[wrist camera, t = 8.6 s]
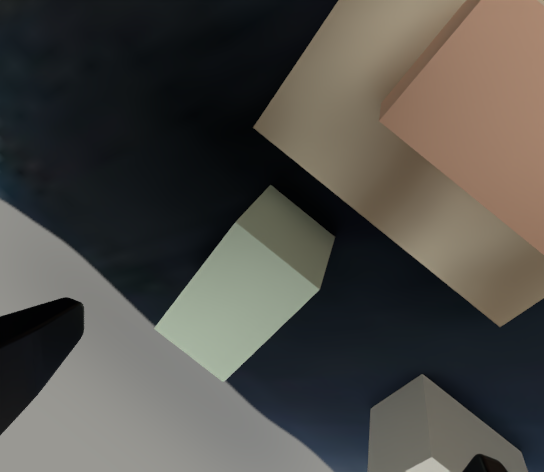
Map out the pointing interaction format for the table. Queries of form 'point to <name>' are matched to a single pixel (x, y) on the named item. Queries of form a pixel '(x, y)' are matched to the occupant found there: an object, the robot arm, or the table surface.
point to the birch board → (395, 153)
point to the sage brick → (249, 285)
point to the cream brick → (432, 433)
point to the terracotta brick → (482, 109)
